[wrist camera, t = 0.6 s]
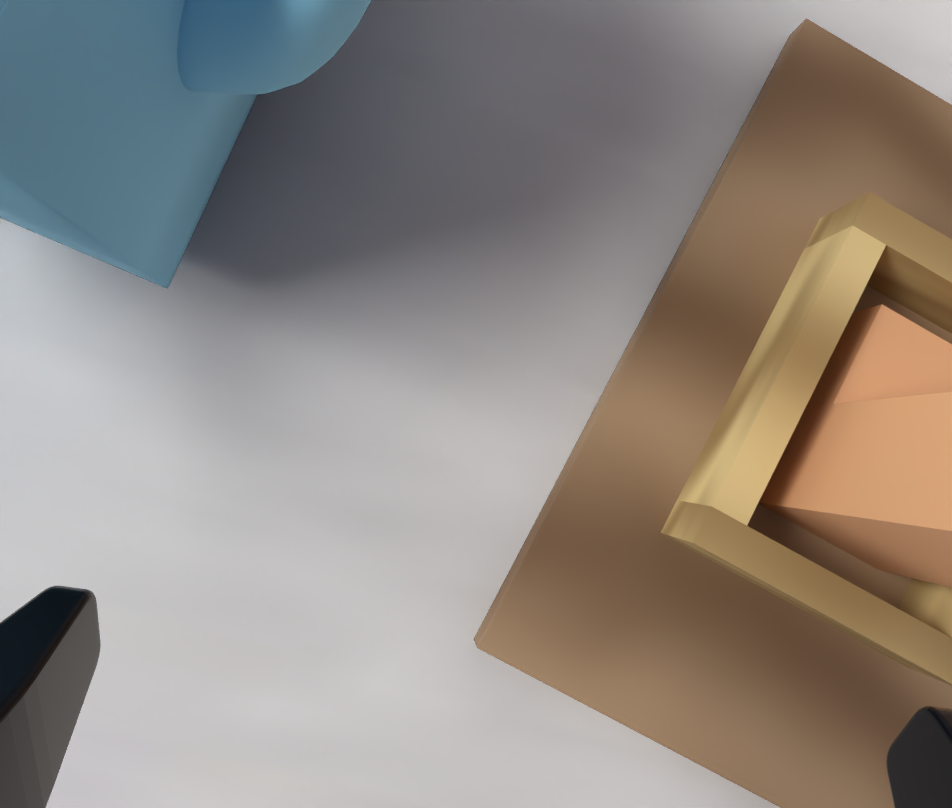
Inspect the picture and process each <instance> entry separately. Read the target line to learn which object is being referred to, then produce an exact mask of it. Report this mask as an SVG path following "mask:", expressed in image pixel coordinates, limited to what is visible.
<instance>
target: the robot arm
mask: <svg viewBox="0 0 952 808" xmlns="http://www.w3.org/2000/svg"><path fill="white" fill-rule="evenodd" d="M99 653H100V633H99V623H98V613H97V603H96V598H95V595H94V594H93V592H92V591H90V590H87V589H80V588H72V587H65V586H52V587H50V588H47V589H46V590H44V591H43V592H41V593H40V594H38V595H37V596H36V597H34V598H33V599H32V600H30V601H29V602H28V603H26V604H25V605H24V606H22V607H21V608H20V609H18V610H17V611H15V612H14V613H13V614H11V615H10V616H9V617H7V618H6V619H5V620H3V621H2V622H1V623H0V808H45V807H46V805H47V802H48V800H49V797H50V794H51V792H52V789H53V786H54V784H55V781H56V778H57V775H58V772H59V769H60V767H61V764H62V761H63V758H64V755H65V753H66V750H67V747H68V744H69V741H70V739H71V736H72V733H73V730H74V727H75V725H76V722H77V719H78V716H79V713H80V710H81V708H82V705H83V702H84V699H85V696H86V694H87V691H88V688H89V685H90V682H91V680H92V677H93V674H94V671H95V668H96V665H97V662H98V658H99ZM886 765H887V774H888V778H889V783H890V788H891V793H892V798H893V803H894V808H952V709H948V708H941V707H933V706H925V707H923V708H920V709H919V710H918V711H917V712H916V713H915V714H914V715H913V717H912V718H911V719H910V721H909V722H908V723H907V725H906V726H905V727H904V728H903V730H902V731H901V732H900V734H899V735H898V736H897V738H896V739H895V740H894V741H893V743H892V744H891V746H890V747H889V750H888V753H887V759H886Z"/></svg>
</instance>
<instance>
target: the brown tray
mask: <svg viewBox="0 0 952 808" xmlns="http://www.w3.org/2000/svg"><path fill="white" fill-rule="evenodd" d="M881 304H883V305H884V306H886V307H888V308H889V309H891V310H893V311H895V312H896V313H898V314H900V315H902V316H903V317H905V318H907V319H909V320H910V321H912V322H914V323H916V324H917V325H919V326H921V327H923V328H924V329H926V330H928V331H929V332H931V333H933V334H935V335H936V336H938V337H940V338H942V339H943V340H945V341H947V342H949V343H950V344H952V105H951V104H949V103H947V102H946V101H944V100H942V99H941V98H939V97H937V96H935V95H934V94H932V93H930V92H929V91H927V90H925V89H924V88H922V87H920V86H919V85H917V84H915V83H914V82H912V81H910V80H909V79H907V78H905V77H904V76H902V75H900V74H899V73H897V72H895V71H894V70H892V69H890V68H888V67H887V66H885V65H883V64H882V63H880V62H878V61H877V60H875V59H873V58H872V57H870V56H868V55H867V54H865V53H863V52H862V51H860V50H858V49H857V48H855V47H853V46H852V45H850V44H848V43H847V42H845V41H843V40H841V39H840V38H838V37H836V36H835V35H833V34H831V33H830V32H828V31H826V30H825V29H823V28H821V27H820V26H818V25H816V24H815V23H813V22H811V21H810V20H808V19H805V20H804V21H803V22H802V23H801V24H800V25H799V26H798V28H797V29H796V30H795V31H794V32H793V33H792V34H791V35H790V36H789V38H788V40H787V42H786V44H785V46H784V47H783V49H782V51H781V53H780V55H779V57H778V59H777V61H776V63H775V65H774V67H773V69H772V70H771V72H770V74H769V76H768V78H767V80H766V82H765V84H764V86H763V88H762V90H761V91H760V93H759V95H758V97H757V99H756V101H755V103H754V105H753V107H752V109H751V111H750V112H749V114H748V116H747V118H746V120H745V122H744V124H743V126H742V128H741V130H740V132H739V133H738V135H737V137H736V139H735V141H734V143H733V145H732V147H731V149H730V151H729V153H728V155H727V156H726V158H725V160H724V162H723V164H722V166H721V168H720V170H719V172H718V174H717V176H716V177H715V179H714V181H713V183H712V185H711V187H710V189H709V191H708V193H707V195H706V197H705V198H704V200H703V202H702V204H701V206H700V208H699V210H698V212H697V214H696V216H695V218H694V219H693V221H692V223H691V225H690V227H689V229H688V231H687V233H686V235H685V237H684V239H683V241H682V242H681V244H680V246H679V248H678V250H677V252H676V254H675V256H674V258H673V260H672V262H671V263H670V265H669V267H668V269H667V271H666V273H665V275H664V277H663V279H662V281H661V283H660V284H659V286H658V288H657V290H656V292H655V294H654V296H653V298H652V300H651V302H650V304H649V305H648V307H647V309H646V311H645V313H644V315H643V317H642V319H641V321H640V323H639V325H638V327H637V328H636V330H635V332H634V334H633V336H632V338H631V340H630V342H629V344H628V346H627V348H626V349H625V351H624V353H623V355H622V357H621V359H620V361H619V363H618V365H617V367H616V369H615V370H614V372H613V374H612V376H611V378H610V380H609V382H608V384H607V386H606V388H605V390H604V391H603V393H602V395H601V397H600V399H599V401H598V403H597V405H596V407H595V409H594V411H593V413H592V414H591V416H590V418H589V420H588V422H587V424H586V426H585V428H584V430H583V432H582V434H581V435H580V437H579V439H578V441H577V443H576V445H575V447H574V449H573V451H572V453H571V455H570V456H569V458H568V460H567V462H566V464H565V466H564V468H563V470H562V472H561V474H560V476H559V477H558V479H557V481H556V483H555V485H554V487H553V489H552V491H551V493H550V495H549V497H548V499H547V500H546V502H545V504H544V506H543V508H542V510H541V512H540V514H539V516H538V518H537V520H536V521H535V523H534V525H533V527H532V529H531V531H530V533H529V535H528V537H527V539H526V541H525V542H524V544H523V546H522V548H521V550H520V552H519V554H518V556H517V558H516V560H515V562H514V563H513V565H512V567H511V569H510V571H509V573H508V575H507V577H506V579H505V581H504V583H503V585H502V586H501V588H500V590H499V592H498V594H497V596H496V598H495V600H494V602H493V604H492V606H491V607H490V609H489V611H488V613H487V615H486V617H485V619H484V621H483V623H482V625H481V627H480V628H479V630H478V632H477V634H476V636H475V638H474V641H475V643H476V646H477V648H479V649H480V650H482V651H484V652H486V653H488V654H490V655H492V656H494V657H496V658H498V659H499V660H501V661H503V662H505V663H507V664H509V665H511V666H513V667H515V668H517V669H519V670H520V671H522V672H524V673H526V674H528V675H530V676H532V677H534V678H536V679H538V680H539V681H541V682H543V683H545V684H547V685H549V686H551V687H553V688H555V689H557V690H558V691H560V692H562V693H564V694H566V695H568V696H570V697H572V698H574V699H576V700H577V701H579V702H581V703H583V704H585V705H587V706H589V707H591V708H593V709H595V710H596V711H598V712H600V713H602V714H604V715H606V716H608V717H610V718H612V719H614V720H615V721H617V722H619V723H621V724H623V725H625V726H627V727H629V728H631V729H633V730H634V731H636V732H638V733H640V734H642V735H644V736H646V737H648V738H650V739H652V740H654V741H655V742H657V743H659V744H661V745H663V746H665V747H667V748H669V749H671V750H673V751H674V752H676V753H678V754H680V755H682V756H684V757H686V758H688V759H690V760H692V761H693V762H695V763H697V764H699V765H701V766H703V767H705V768H707V769H709V770H711V771H712V772H714V773H716V774H718V775H720V776H722V777H724V778H726V779H728V780H730V781H731V782H733V783H735V784H737V785H739V786H741V787H743V788H745V789H747V790H749V791H750V792H752V793H754V794H756V795H758V796H760V797H762V798H764V799H766V800H768V801H769V802H771V803H773V804H775V805H777V806H779V807H781V808H894V803H893V798H892V793H891V788H890V783H889V778H888V774H887V765H886V759H887V753H888V750H889V747H890V746H891V744H892V743H893V741H894V740H895V739H896V738H897V736H898V735H899V734H900V732H901V731H902V730H903V728H904V727H905V726H906V725H907V723H908V722H909V721H910V719H911V718H912V717H913V715H914V714H915V713H916V712H917V711H918V710H919V709H920V708H923V707H925V706H933V707H941V708H948V709H952V588H950V587H946V586H942V585H938V584H934V583H930V582H925V581H921V580H917V579H913V578H909V577H905V576H901V575H897V574H893V573H889V572H885V571H881V570H878V569H876V568H874V567H872V566H871V565H869V564H867V563H865V562H863V561H861V560H860V559H858V558H856V557H854V556H852V555H851V554H849V553H847V552H845V551H843V550H842V549H840V548H838V547H836V546H834V545H832V544H831V543H829V542H827V541H825V540H823V539H822V538H820V537H818V536H816V535H814V534H812V533H811V532H809V531H807V530H805V529H803V528H802V527H800V526H798V525H796V524H794V523H793V522H791V521H789V520H787V519H785V518H783V517H782V516H780V515H778V514H776V513H774V512H773V511H771V510H769V509H767V508H765V507H763V506H762V505H760V504H758V502H759V500H760V498H761V496H762V494H763V492H764V490H765V488H766V486H767V484H768V482H769V480H770V478H771V476H772V474H773V472H774V470H775V468H776V466H777V464H778V462H779V460H780V458H781V456H782V454H783V452H784V450H785V448H786V446H787V444H788V442H789V440H790V438H791V436H792V434H793V432H794V430H795V428H796V426H797V424H798V422H799V420H800V418H801V416H802V414H803V412H804V410H805V408H806V406H807V404H808V402H809V400H810V398H811V396H812V394H813V392H814V390H815V387H816V385H817V383H818V381H819V379H820V377H821V375H822V373H823V371H824V369H825V367H826V365H827V363H828V361H829V359H830V357H831V355H832V353H833V351H834V349H835V347H836V345H837V343H838V341H839V339H840V337H841V335H842V333H843V331H844V329H845V327H846V325H847V323H848V321H849V319H850V317H851V315H852V313H854V312H858V311H861V310H864V309H868V308H871V307H874V306H878V305H881Z"/></svg>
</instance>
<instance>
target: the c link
mask: <svg viewBox="0 0 952 808" xmlns="http://www.w3.org/2000/svg"><path fill="white" fill-rule="evenodd" d="M758 504H760V505H762V506H763V507H765V508H767V509H769V510H771V511H773V512H774V513H776V514H778V515H780V516H782V517H783V518H785V519H787V520H789V521H791V522H793V523H794V524H796V525H798V526H800V527H802V528H803V529H805V530H807V531H809V532H811V533H812V534H814V535H816V536H818V537H820V538H822V539H823V540H825V541H827V542H829V543H831V544H832V545H834V546H836V547H838V548H840V549H842V550H843V551H845V552H847V553H849V554H851V555H852V556H854V557H856V558H858V559H860V560H861V561H863V562H865V563H867V564H869V565H871V566H872V567H874V568H876V569H878V570H881V571H885V572H889V573H893V574H897V575H901V576H905V577H909V578H913V579H917V580H921V581H925V582H930V583H934V584H938V585H942V586H946V587H950V588H952V344H950V343H949V342H947V341H945V340H943V339H942V338H940V337H938V336H936V335H935V334H933V333H931V332H929V331H928V330H926V329H924V328H923V327H921V326H919V325H917V324H916V323H914V322H912V321H910V320H909V319H907V318H905V317H903V316H902V315H900V314H898V313H896V312H895V311H893V310H891V309H889V308H888V307H886V306H884V305H883V304H881V305H878V306H874V307H871V308H868V309H864V310H861V311H858V312H854V313H852V315H851V317H850V319H849V321H848V323H847V325H846V327H845V329H844V331H843V333H842V335H841V337H840V339H839V341H838V343H837V345H836V347H835V349H834V351H833V353H832V355H831V357H830V359H829V361H828V363H827V365H826V367H825V369H824V371H823V373H822V375H821V377H820V379H819V381H818V383H817V385H816V387H815V390H814V392H813V394H812V396H811V398H810V400H809V402H808V404H807V406H806V408H805V410H804V412H803V414H802V416H801V418H800V420H799V422H798V424H797V426H796V428H795V430H794V432H793V434H792V436H791V438H790V440H789V442H788V444H787V446H786V448H785V450H784V452H783V454H782V456H781V458H780V460H779V462H778V464H777V466H776V468H775V470H774V472H773V474H772V476H771V478H770V480H769V482H768V484H767V486H766V488H765V490H764V492H763V494H762V496H761V498H760V500H759V502H758Z"/></svg>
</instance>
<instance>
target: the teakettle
mask: <svg viewBox="0 0 952 808" xmlns="http://www.w3.org/2000/svg"><path fill="white" fill-rule="evenodd" d="M371 1H372V0H0V218H3V219H5V220H7V221H10V222H12V223H14V224H17V225H19V226H21V227H24V228H26V229H28V230H31V231H33V232H35V233H38V234H40V235H42V236H45V237H47V238H49V239H52V240H54V241H57V242H59V243H61V244H64V245H66V246H68V247H71V248H73V249H75V250H78V251H80V252H82V253H85V254H87V255H89V256H92V257H94V258H96V259H99V260H101V261H104V262H106V263H108V264H111V265H113V266H115V267H118V268H120V269H122V270H125V271H127V272H129V273H132V274H134V275H136V276H139V277H141V278H143V279H146V280H148V281H150V282H153V283H155V284H158V285H160V286H162V287H165V288H168V286H169V284H170V282H171V280H172V278H173V276H174V274H175V271H176V269H177V267H178V265H179V263H180V261H181V259H182V256H183V254H184V252H185V250H186V248H187V246H188V243H189V241H190V239H191V237H192V235H193V233H194V231H195V228H196V226H197V224H198V222H199V220H200V218H201V215H202V213H203V211H204V209H205V207H206V205H207V202H208V200H209V198H210V196H211V194H212V192H213V189H214V187H215V185H216V183H217V181H218V179H219V176H220V174H221V172H222V170H223V168H224V166H225V163H226V161H227V159H228V157H229V155H230V153H231V150H232V148H233V146H234V144H235V142H236V139H237V137H238V135H239V133H240V131H241V129H242V127H243V125H244V122H245V120H246V118H247V116H248V114H249V112H250V110H251V107H252V105H253V103H254V101H255V99H256V97H257V95H258V94H267V93H270V92H273V91H277V90H280V89H282V88H285V87H288V86H291V85H294V84H297V83H300V82H302V81H303V80H305V79H306V78H307V77H309V76H310V75H311V74H313V73H314V72H315V71H317V70H318V69H319V68H320V67H322V66H323V65H324V64H325V63H327V62H328V61H329V60H330V59H332V57H333V56H334V55H335V54H336V53H337V51H338V50H339V49H340V48H341V47H342V45H343V44H344V43H345V42H346V40H347V39H348V37H349V36H350V35H351V33H352V32H353V31H354V29H355V28H356V27H357V25H358V24H359V22H360V20H361V18H362V16H363V15H364V13H365V11H366V9H367V8H368V6H369V4H370V2H371Z"/></svg>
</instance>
